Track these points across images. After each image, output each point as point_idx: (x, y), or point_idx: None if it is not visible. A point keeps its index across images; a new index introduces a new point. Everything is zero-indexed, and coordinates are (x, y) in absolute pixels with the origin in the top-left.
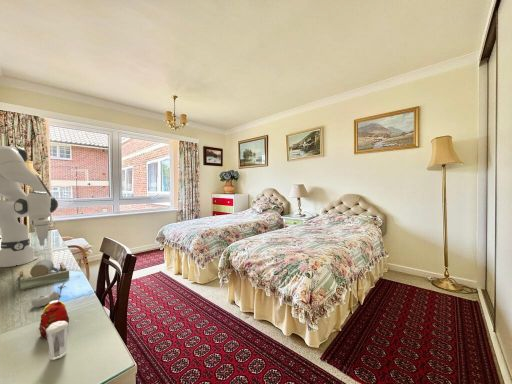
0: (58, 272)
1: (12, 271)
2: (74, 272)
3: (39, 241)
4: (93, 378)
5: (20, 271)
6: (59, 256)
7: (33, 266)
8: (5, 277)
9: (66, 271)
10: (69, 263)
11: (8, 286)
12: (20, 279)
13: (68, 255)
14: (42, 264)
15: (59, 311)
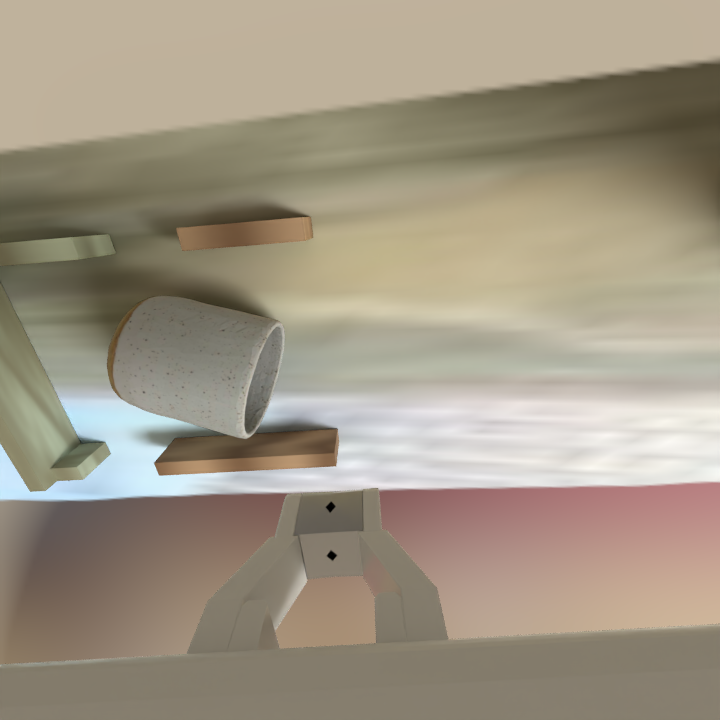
0: (19, 447)
1: (545, 144)
2: (182, 480)
3: (364, 542)
4: None
5: (277, 224)
6: (709, 435)
7: (134, 332)
8: (376, 111)
9: (24, 480)
10: (419, 472)
11: (91, 165)
12: (18, 243)
13: (670, 479)
14: (123, 393)
15: None
